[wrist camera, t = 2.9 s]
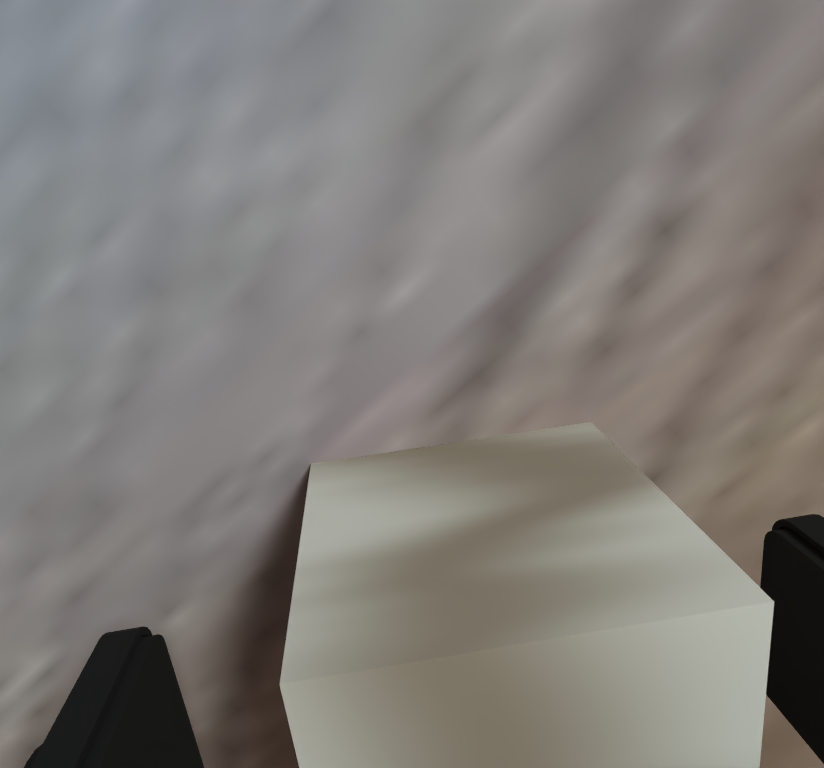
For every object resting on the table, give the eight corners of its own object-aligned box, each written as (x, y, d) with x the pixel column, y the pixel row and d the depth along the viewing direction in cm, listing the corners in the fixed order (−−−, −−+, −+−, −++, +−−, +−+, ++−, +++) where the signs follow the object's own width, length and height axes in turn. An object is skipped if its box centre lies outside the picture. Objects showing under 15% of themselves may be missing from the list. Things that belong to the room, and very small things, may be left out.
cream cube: (589, 420, 11) (774, 601, 6) (594, 644, 12) (745, 925, 8) (311, 461, 11) (279, 685, 6) (353, 685, 12) (355, 1002, 7)
